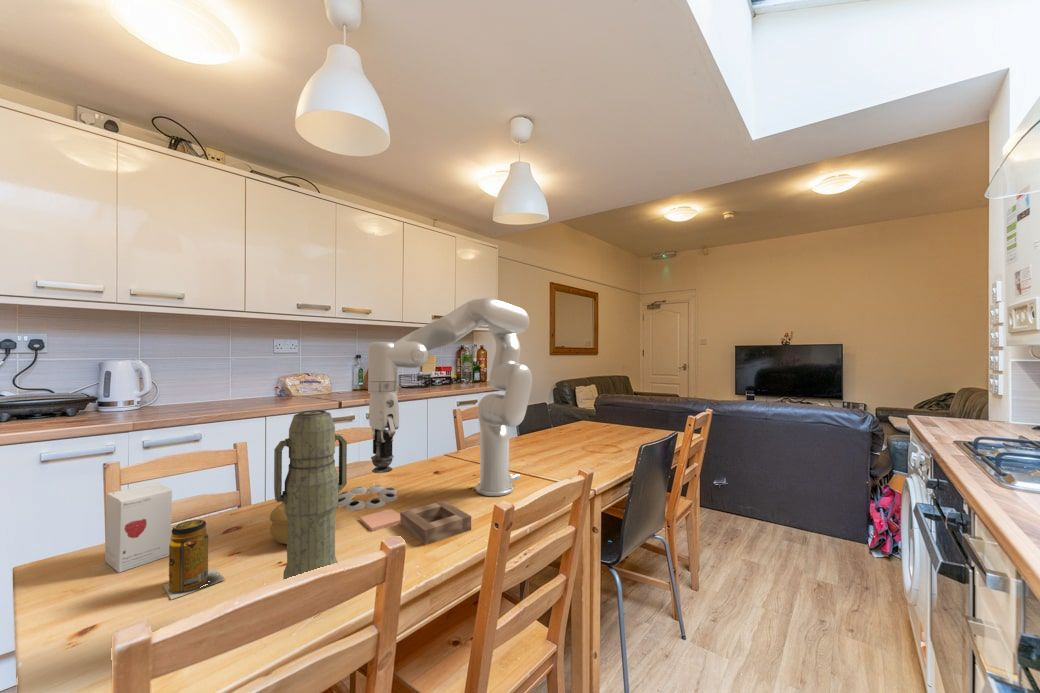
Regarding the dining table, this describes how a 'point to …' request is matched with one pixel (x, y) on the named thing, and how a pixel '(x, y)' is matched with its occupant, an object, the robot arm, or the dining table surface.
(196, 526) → the condiment
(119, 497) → the supplement box
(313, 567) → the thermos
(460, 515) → the brown square wooden frame
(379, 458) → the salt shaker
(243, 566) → the dining table surface
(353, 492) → the paint palette
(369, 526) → the terracotta tile
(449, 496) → the dining table surface
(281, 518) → the pot
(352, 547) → the dining table surface
